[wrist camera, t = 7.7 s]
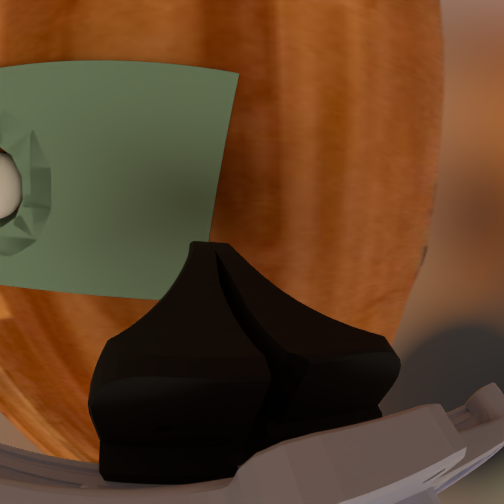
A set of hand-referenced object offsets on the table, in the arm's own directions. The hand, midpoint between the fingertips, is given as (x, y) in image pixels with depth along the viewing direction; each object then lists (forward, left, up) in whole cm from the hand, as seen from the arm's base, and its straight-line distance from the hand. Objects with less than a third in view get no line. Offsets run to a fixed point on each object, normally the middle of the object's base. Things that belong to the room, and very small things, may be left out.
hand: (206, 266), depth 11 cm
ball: (0, +13, -7) cm, 15 cm away
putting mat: (0, +9, -9) cm, 13 cm away
